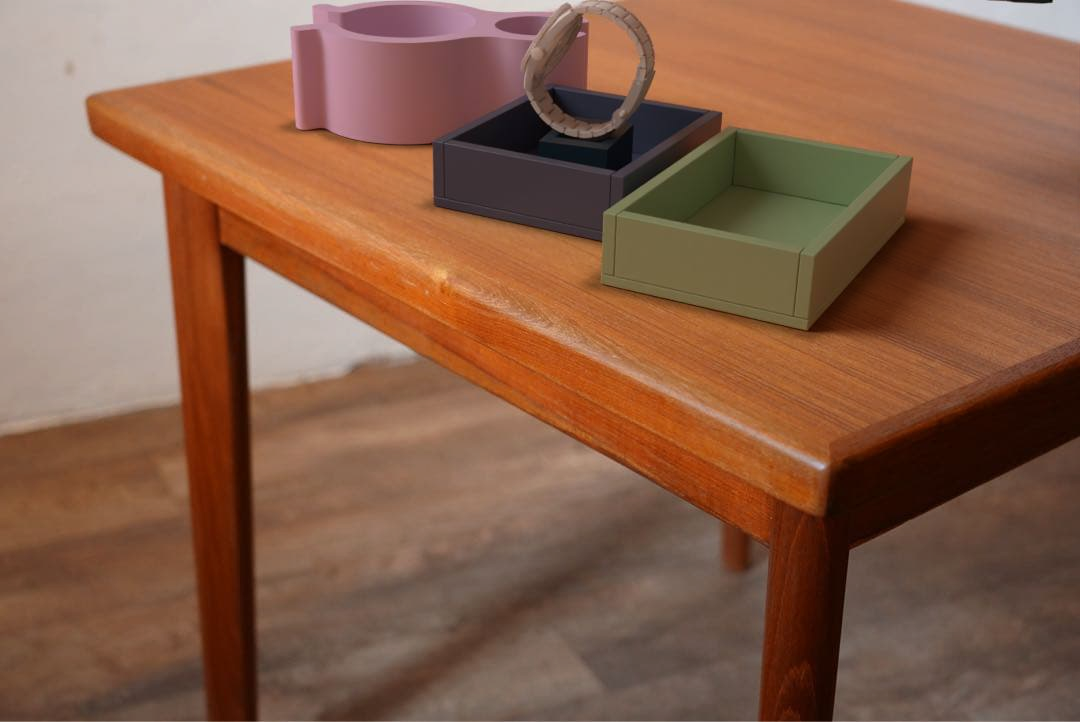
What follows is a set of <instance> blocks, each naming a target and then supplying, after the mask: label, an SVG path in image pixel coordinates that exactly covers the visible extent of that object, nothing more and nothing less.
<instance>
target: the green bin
mask: <svg viewBox="0 0 1080 722" xmlns="http://www.w3.org/2000/svg"><path fill="white" fill-rule="evenodd" d="M913 164H914V157H913V156H908V155H903V154H898V153H897V154H896V153H891V152H886V151H879V150H875V149H874V150H873V149H868V148H861V147H857V146H856V147H855V146H851V145H850V146H849V145H844V144H838V143H834V142H833V143H832V142H826V141H820V140H813V139H809V138H803V137H797V136H790V135H785V134H779V133H773V132H769V131H768V132H767V131H761V130H756V129H750V128H743V127H737V126H732V125H728V126H726V127H725V128H724V129H721V132H719V133H718V134H717V135H715V136H714V137H712V138H711V139H709V140H708V141H706V142H705V143H704V144H702V145H701V146H699V147H698V148H696V149H695V150H693V151H692V152H690V153H689V154H688V155H686V156H685V157H683V158H682V159H680V160H679V161H677V162H676V163H675V164H673V165H672V166H670V167H669V168H667V169H666V170H664V171H663V172H661V173H660V174H659V175H657V176H656V177H654V178H653V179H651V180H650V181H648V182H647V183H645V184H644V185H643V186H641V187H640V188H638V189H637V190H635V191H634V192H632V193H631V194H630V195H628V196H627V197H625V198H624V199H622V200H621V201H619V202H618V203H616V204H615V205H614V206H612V207H611V208H609V209H608V210H606V211H605V212H604V213H603V238H602V241H601V264H600V265H601V266H600V267H601V269H600V273H601V274H600V284H601V285H605V286H608V287H612V288H613V287H614V288H619V289H622V290H627V291H632V292H635V293H640V294H644V295H648V296H654V297H658V298H663V299H666V300H671V301H675V302H679V303H684V304H689V305H692V306H696V307H701V308H706V309H710V310H714V311H719V312H723V313H727V314H732V315H737V316H740V317H745V318H749V319H754V320H758V321H762V322H766V323H772V324H775V325H780V326H783V327H784V326H785V327H789V328H792V329H793V328H794V329H797V330H801V331H808V330H809V329H811V327H812V326H813V325H814V324H815V323H816V322H817V320H818V319H819V318H820V317H821V316H822V315H823V314H824V313H825V312H826V311H827V309H828V308H829V307H830V306H831V305H832V304H833V302H835V301H836V300H837V298H838V297H839V296H840V295H841V294H842V293H843V291H845V290H846V288H847V287H848V286H849V285H850V284H851V283H852V281H854V279H855V278H856V277H858V275H859V274H860V272H862V270H863V269H864V268H865V267H866V266H867V265H868V264H869V262H870V261H871V260H872V259H873V258H874V257H875V256H876V255H877V254H878V252H879V251H880V250H881V249H882V248H883V247H884V246H885V245H886V243H887V242H888V241H889V240H890V239H891V238H892V237H893V236H894V235H895V233H896V232H897V231H898V230H899V229H900V228H901V227H902V226H903V224H904V223H905V222H906V212H907V207H908V199H909V192H910V185H911V178H912V171H913Z"/></svg>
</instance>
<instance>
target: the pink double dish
mask: <svg viewBox="0 0 1080 722" xmlns="http://www.w3.org/2000/svg"><path fill="white" fill-rule="evenodd" d="M311 9H312V10H311V11H312V23H309V24H299V25H292V26H290V27H289V32H290V33H289V34H290V50H291V51H290V53H291V66H292V67H291V68H292V83H293V84H292V85H293V99H294V101H293V102H294V116H295V128H296V129H298V130H301V131H309V130H315V129H326V130H328V131H329V132H331V133H333V134H335V135H338V136H340V137H344V138H347V139H352V140H355V141H360V142H366V143H374V144H384V145H385V144H386V145H425V144H433V140H435V139H437V138H439V137H441V136H443V135H445V134H447V133H449V132H451V131H453V130H455V129H457V128H459V127H461V126H463V125H465V124H467V123H469V122H471V121H473V120H475V119H477V118H479V117H481V116H483V115H485V114H487V113H489V112H491V111H494V110H496V109H498V108H500V107H502V106H504V105H506V104H508V103H510V102H512V101H514V100H516V99H518V98H520V97H522V96H524V95H526V94H527V93H526V90H525V89H524V78H525V73H523V72H522V71H521V70H520V68H521V64H522V61H523V58H524V56H525V54H526V52H527V50H528V49H529V47H530V45H531V44H532V42H533V40H534V39H535V37H536V36H537V34H538V33H539V31H540V30H541V28H542V27H543V26H544V24H545V23H546V22H547V21H548V19H549V18H550V17H551V16H552V14H553V13H554V12H553V11H552V12H550V11H493V10H485V9H480V8H477V7H473V6H469V5H466V4H465V5H464V4H458V3H454V2H453V3H452V2H446V1H445V2H444V1H433V0H378V1H368V2H359V3H352V4H348V5H342V6H341V5H340V6H339V5H333V4H328V3H318V4H313V5H311ZM589 36H590V20H589V19H587V18H584V17H583V21H582V26H581V29H580V31H579V33H578V35H577V37H576V39H575V40H574V42H573V44H572V45H571V47H570V48H569V50H568V51H567V53H566V54H565V56H564V57H563V58H562V60H561V61H560V62H559V64H558V65H557V66H556V67H555V68H554V70H553V71H552V72H551V73H550V74H549V77H548V78H547V80H546V81H544V84H545V85H546V84H548V83H551V84H557V85H563V86H569V87H575V88H581V89H587V90H588V69H589V67H588V66H589Z"/></svg>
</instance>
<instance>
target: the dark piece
mask: <svg viewBox="0 0 1080 722" xmlns="http://www.w3.org/2000/svg"><path fill="white" fill-rule="evenodd" d="M988 1H992V2H1008V3H1016V4H1035V5H1036V4H1037V5H1044V4H1053V2H1054V0H988Z"/></svg>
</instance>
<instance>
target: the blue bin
mask: <svg viewBox="0 0 1080 722" xmlns="http://www.w3.org/2000/svg"><path fill="white" fill-rule="evenodd" d="M545 86H546V90H545V91H547V92H548V93H549V95H550V97H551V98H552V100H553V103H552V104H556V105H557V106H558V107H559V108H560V109H561V110H562V111H563V114H564V113H565V114H567V115H569V116H572V117H580V118H588V119H597V120H605V121H611V119H612V118H613V117H612V115H613V113H614V112H615V111H616V110H617V109H619V108H620V107H621V106H622V104H623V102H624V101H625V99H626V97H627V95H622V94H616V93H611V92H606V91H605V92H603V91H600V90H599V91H598V90H592V89H588V88H587V89H581V88H575V87H569V86H563V85H557V84H551V83H548V84H546V85H545ZM541 100H542V99H541ZM541 100H540V101H541ZM540 101H539V102H540ZM551 112H552V111H551ZM551 112H550V113H551ZM540 114H541V113H540ZM540 114H537V112H536V111H535V110H534V108H533V106H532V105H531V101H530V100H529V98H528V96H527V94H526V95H524V96H522V97H520V98H518V99H516V100H514V101H512V102H510V103H508V104H506V105H504V106H502V107H500V108H498V109H496V110H494V111H491V112H489V113H487V114H485V115H483V116H481V117H479V118H477V119H475V120H473V121H471V122H469V123H467V124H465V125H463V126H461V127H459V128H457V129H455V130H453V131H451V132H449V133H447V134H445V135H443V136H441V137H439V138H437V139H435V140H433V143H432V174H433V175H432V183H433V185H432V189H433V191H432V192H433V194H432V195H433V206H435V207H441V208H445V209H450V210H455V211H459V212H464V213H468V214H473V215H477V216H482V217H487V218H492V219H497V220H501V221H505V222H510V223H516V224H518V225H519V224H520V225H525V226H528V227H534V228H539V229H542V230H543V229H544V230H548V231H551V232H557V233H562V234H565V235H566V234H567V235H571V236H576V237H580V238H585V239H590V240H595V241H600V242H602V238H603V213H604V212H605V211H606V210H608V209H609V208H611V207H612V206H614V205H615V204H616V203H618V202H619V201H621V200H622V199H624V198H625V197H627V196H628V195H630V194H631V193H632V192H634V191H635V190H637V189H638V188H640V187H641V186H643V185H644V184H645V183H647V182H648V181H650V180H651V179H653V178H654V177H656V176H657V175H659V174H660V173H661V172H663V171H664V170H666V169H667V168H669V167H670V166H672V165H673V164H675V163H676V162H677V161H679V160H680V159H682V158H683V157H685V156H686V155H688V154H689V153H690V152H692V151H693V150H695V149H696V148H698V147H699V146H701V145H702V144H704V143H705V142H706V141H708V140H709V139H711V138H712V137H714V136H715V135H717V134H718V133H719V132H721V131H722V122H723V112H722V111H718V110H713V109H712V110H711V109H707V108H701V107H695V106H688V105H682V104H676V103H671V102H665V101H659V100H651V99H647V98H644V99H643V101H642V103H641V104H640V106H639V107H638V108H637V110H636V111H635V112H634V113H633V115H632V116H631V117H630V118H629V119H628V120H627V121H626V122H625V123H629V124H634V127H633V149H632V162H631V163H630V164H628V165H626V166H625V167H623V168H622V169H620V170H619V171H617V172H616V171H613V170H608V169H602V168H597V167H592V166H587V165H581V164H576V163H571V162H566V161H560V160H555V159H550V158H545V157H539V140H541V139H542V138H543V137H544V136H545V135H547V134H548V133H549V132H550V131H551V130H553V128H552V127H551V125H548V124H547V123H546V122H544V121H543V120H542V119H541V117H540V116H539V115H540ZM548 114H549V113H548ZM563 114H562V115H563Z"/></svg>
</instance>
